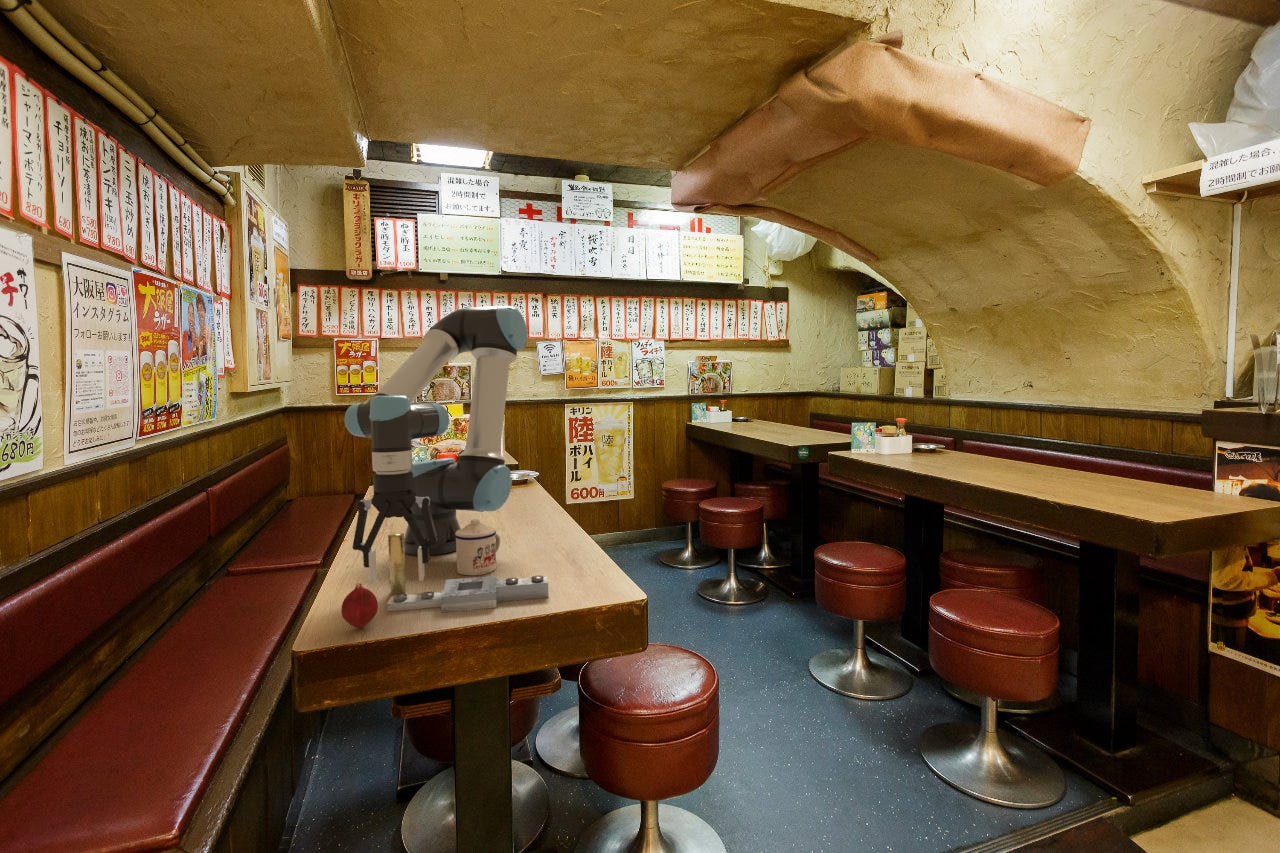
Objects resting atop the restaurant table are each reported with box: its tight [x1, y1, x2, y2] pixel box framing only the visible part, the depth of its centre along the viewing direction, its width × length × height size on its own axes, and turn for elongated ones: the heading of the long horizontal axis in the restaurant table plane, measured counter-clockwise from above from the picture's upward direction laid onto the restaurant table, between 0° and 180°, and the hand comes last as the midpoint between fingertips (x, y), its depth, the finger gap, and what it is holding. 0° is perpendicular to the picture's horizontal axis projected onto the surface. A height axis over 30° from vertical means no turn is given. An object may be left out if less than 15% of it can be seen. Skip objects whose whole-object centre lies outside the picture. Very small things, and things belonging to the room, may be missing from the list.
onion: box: [341, 582, 379, 629], centre depth 104 cm, size 6×6×8 cm
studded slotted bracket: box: [386, 575, 549, 613], centre depth 117 cm, size 10×30×4 cm, turn 102°
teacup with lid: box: [455, 518, 501, 577], centre depth 137 cm, size 12×9×12 cm
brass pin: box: [387, 532, 407, 595], centre depth 122 cm, size 3×3×12 cm
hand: (397, 580), depth 122 cm, fingers open, 9 cm apart
